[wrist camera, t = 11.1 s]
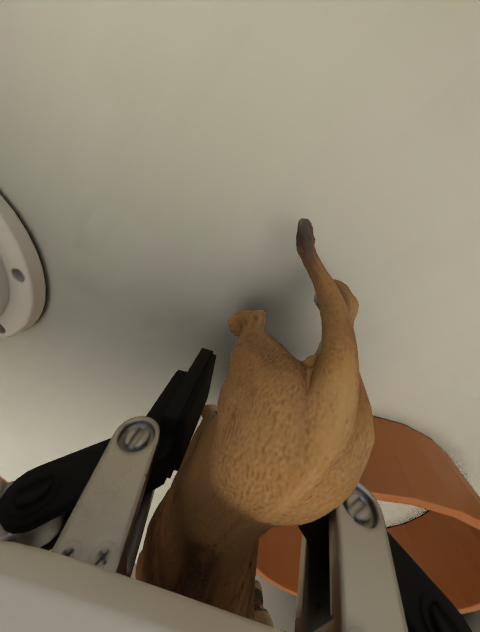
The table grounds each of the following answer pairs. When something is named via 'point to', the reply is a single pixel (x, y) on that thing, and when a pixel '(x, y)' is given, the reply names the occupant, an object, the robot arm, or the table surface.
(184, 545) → the lion figurine
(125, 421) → the robot arm
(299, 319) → the table surface
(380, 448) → the basin
